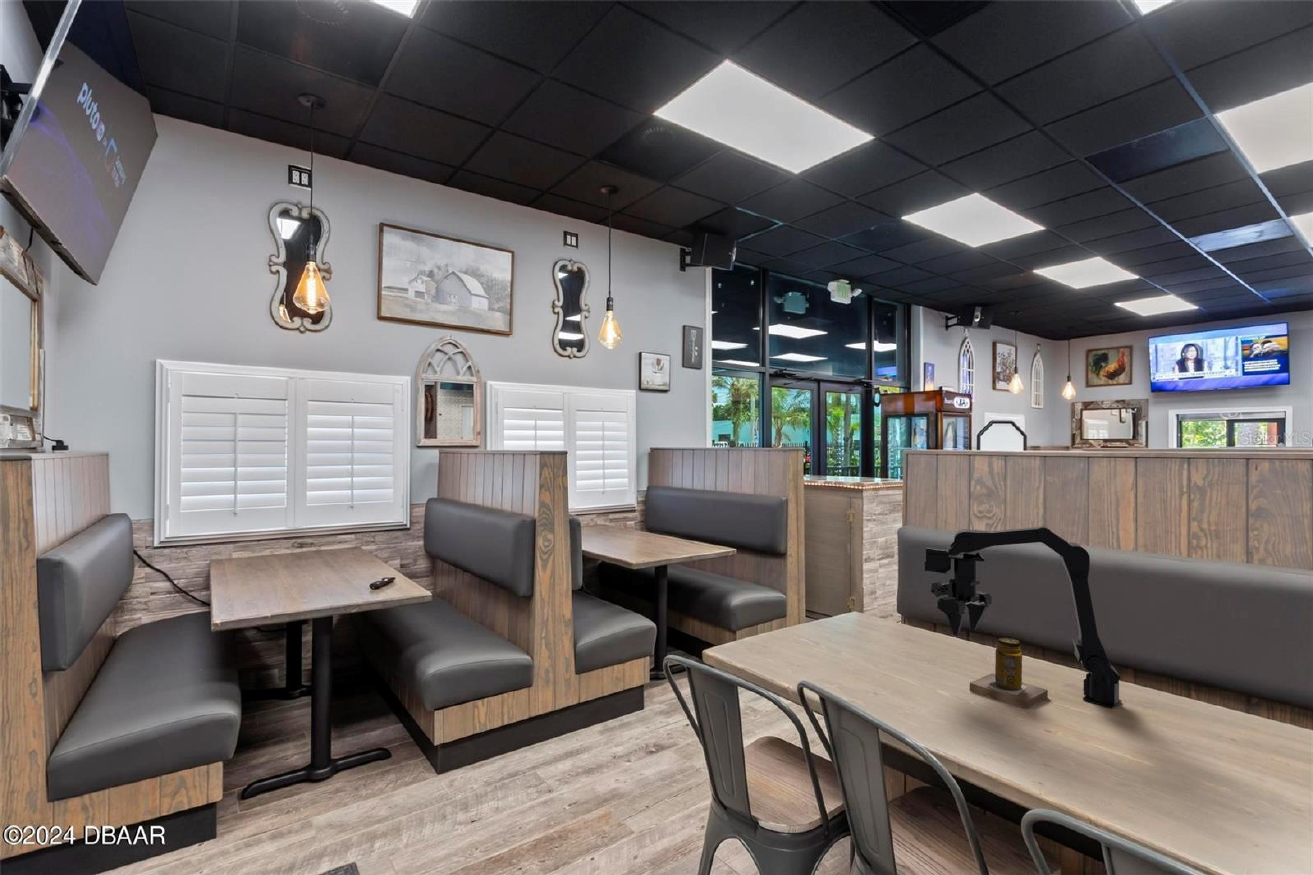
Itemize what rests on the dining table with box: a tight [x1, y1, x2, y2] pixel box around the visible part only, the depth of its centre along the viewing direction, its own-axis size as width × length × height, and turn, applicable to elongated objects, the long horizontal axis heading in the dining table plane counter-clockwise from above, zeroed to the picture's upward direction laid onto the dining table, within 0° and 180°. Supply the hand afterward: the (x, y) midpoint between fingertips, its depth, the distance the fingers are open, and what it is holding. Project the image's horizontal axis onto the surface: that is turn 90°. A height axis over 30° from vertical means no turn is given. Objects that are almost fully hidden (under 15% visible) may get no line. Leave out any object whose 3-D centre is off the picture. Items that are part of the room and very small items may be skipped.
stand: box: [969, 672, 1049, 710], centre depth 162 cm, size 14×12×2 cm
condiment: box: [987, 637, 1027, 695], centre depth 161 cm, size 7×8×12 cm
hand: (964, 632), depth 171 cm, fingers open, 9 cm apart
